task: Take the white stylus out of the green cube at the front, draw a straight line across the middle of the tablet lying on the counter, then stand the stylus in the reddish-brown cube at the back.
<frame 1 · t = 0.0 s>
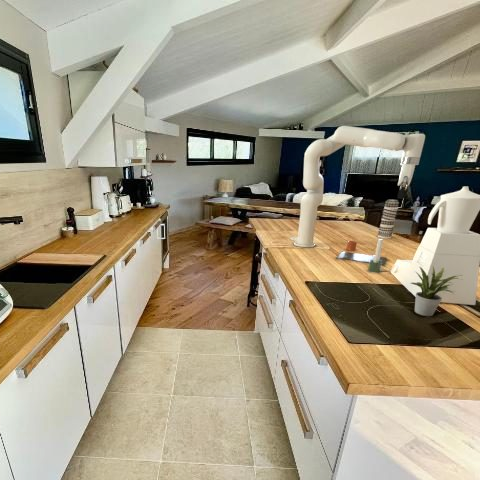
hand: (401, 197, 160), 31 cm above the table, tool pointing down, fingers open, 9 cm apart
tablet: (361, 259, 167), on the table
house plant: (425, 315, 105), on the table
blender: (425, 288, 128), on the table
reddish-brown cube: (350, 249, 185), on the table
green cube: (373, 271, 147), on the table
stylus: (373, 270, 147), resting on green cube
tower model: (384, 237, 218), on the table
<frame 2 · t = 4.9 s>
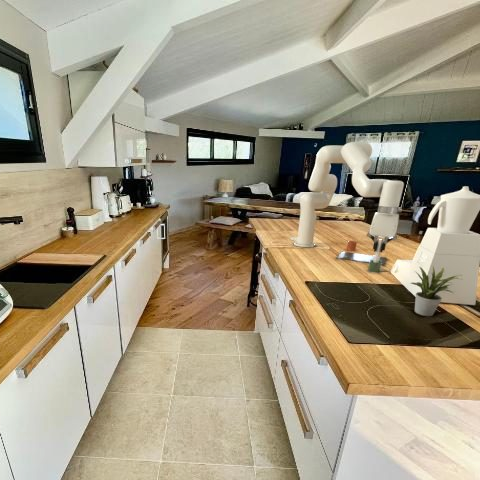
hand: (378, 250, 143), 10 cm above the table, tool pointing down, fingers closed on stylus, 2 cm apart
stylus: (373, 270, 147), resting on green cube, touching gripper
everything else where it was.
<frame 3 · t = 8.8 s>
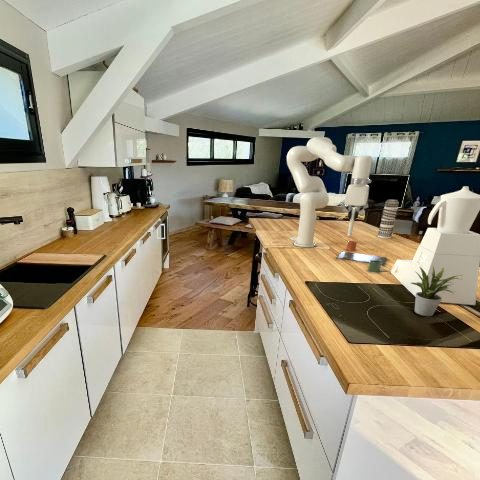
hand: (352, 219, 163), 20 cm above the table, tool pointing down, fingers closed on stylus
stylus: (349, 237, 167), point 11 cm above the table, touching gripper
everything else where it was.
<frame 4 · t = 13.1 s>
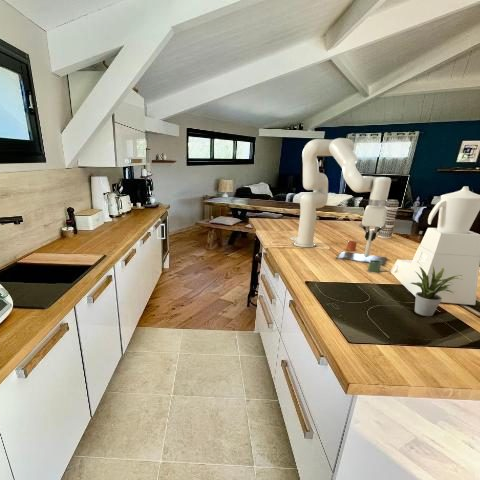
hand: (369, 239, 162), 11 cm above the table, tool pointing down, fingers closed on stylus, 2 cm apart
stylus: (365, 257, 165), point 1 cm above the table, touching gripper
everything else where it was.
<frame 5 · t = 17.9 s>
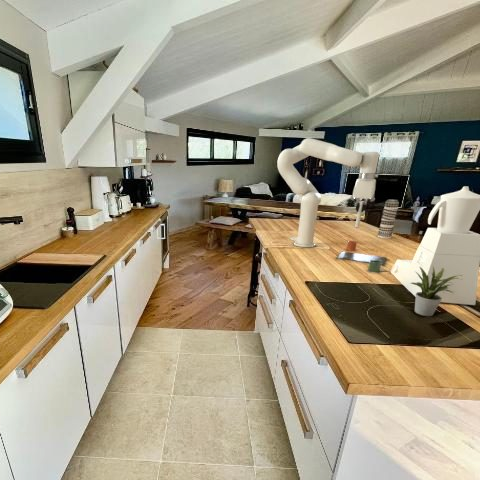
hand: (359, 211, 175), 23 cm above the table, tool pointing down, fingers closed on stylus
stylus: (356, 228, 178), point 13 cm above the table, touching gripper
everything else where it was.
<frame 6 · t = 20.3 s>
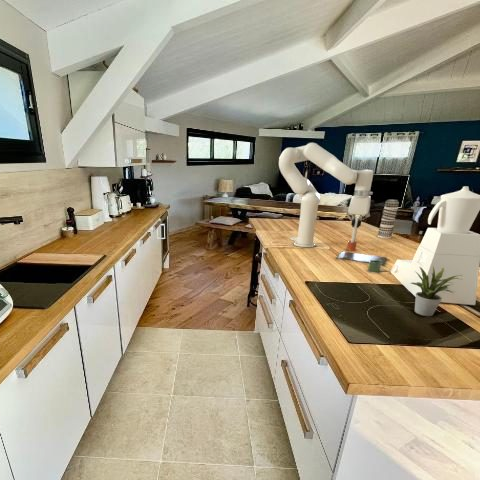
hand: (355, 226, 180), 14 cm above the table, tool pointing down, fingers closed on stylus
stylus: (352, 243, 183), point 4 cm above the table, touching gripper
everything else where it was.
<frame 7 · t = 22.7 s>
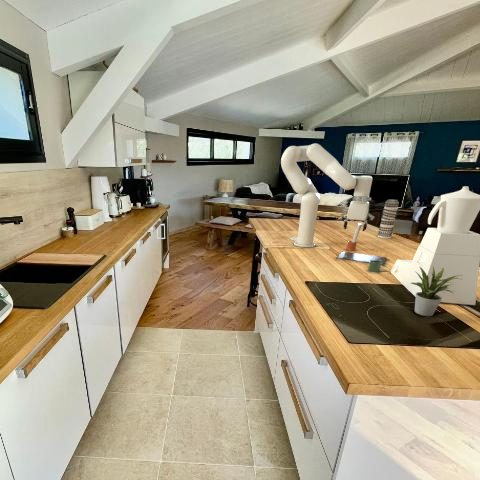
hand: (354, 229, 180), 12 cm above the table, tool pointing down, fingers open, 9 cm apart
stylus: (351, 249, 184), point 1 cm above the table, tilted 8°, touching reddish-brown cube
everything else where it was.
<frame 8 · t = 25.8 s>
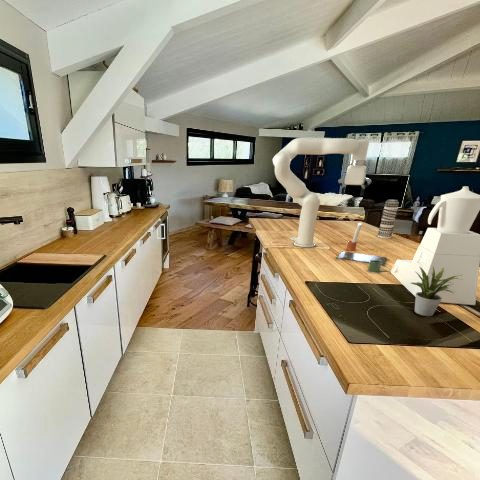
hand: (351, 195, 183), 30 cm above the table, tool pointing down, fingers open, 9 cm apart
nothing on the table moved.
at the end: stylus 0.2 cm off-centre in the reddish-brown cube, point 0.5 cm above the reddish-brown cube's base; stylus tilted 8°; the gripper is holding nothing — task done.
